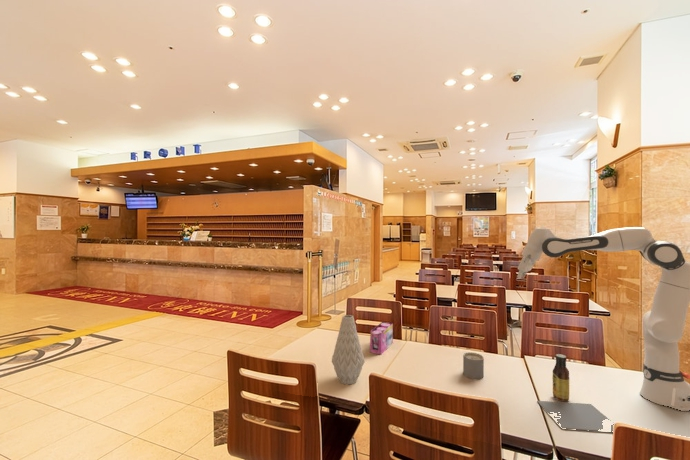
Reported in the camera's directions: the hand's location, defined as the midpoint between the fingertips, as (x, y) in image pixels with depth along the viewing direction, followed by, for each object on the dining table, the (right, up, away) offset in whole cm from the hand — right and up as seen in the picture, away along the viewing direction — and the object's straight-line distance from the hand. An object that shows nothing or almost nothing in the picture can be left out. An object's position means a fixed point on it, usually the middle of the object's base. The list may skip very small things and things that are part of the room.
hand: (520, 277), depth 171 cm
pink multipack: (-74, -51, +30) cm, 94 cm away
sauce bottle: (0, -50, -32) cm, 59 cm away
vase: (-96, -51, -14) cm, 109 cm away
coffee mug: (-29, -50, -7) cm, 58 cm away
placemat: (-2, -50, -45) cm, 67 cm away
